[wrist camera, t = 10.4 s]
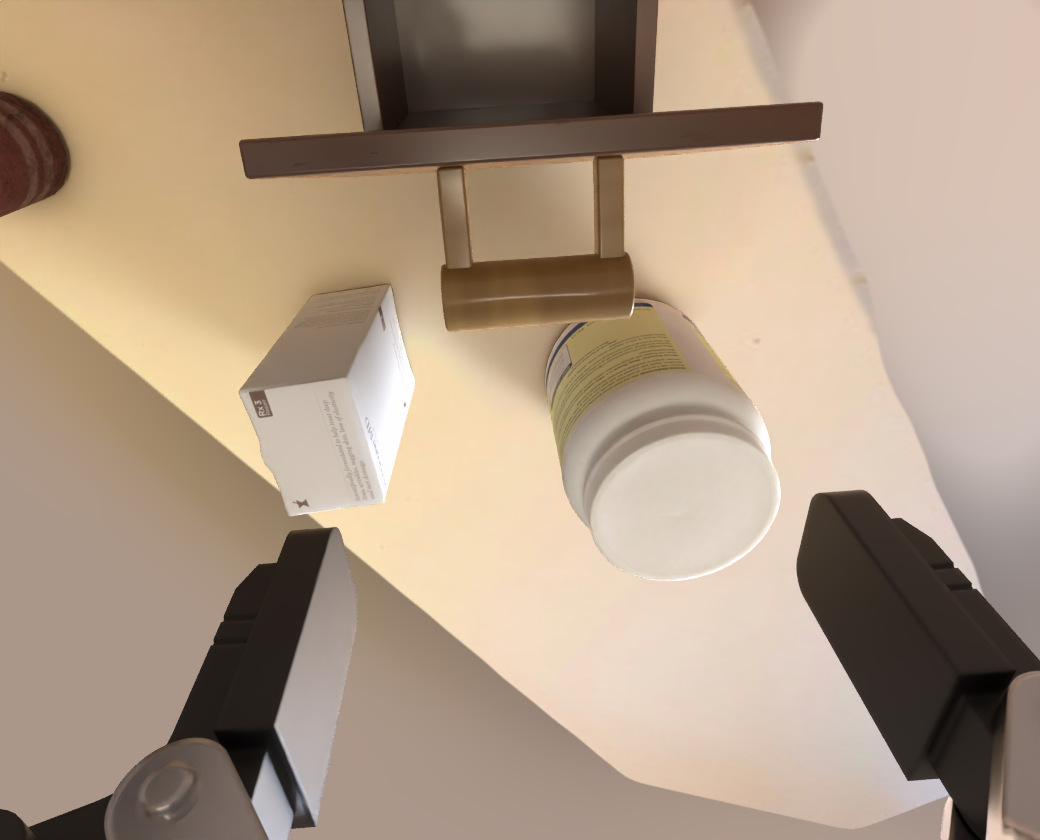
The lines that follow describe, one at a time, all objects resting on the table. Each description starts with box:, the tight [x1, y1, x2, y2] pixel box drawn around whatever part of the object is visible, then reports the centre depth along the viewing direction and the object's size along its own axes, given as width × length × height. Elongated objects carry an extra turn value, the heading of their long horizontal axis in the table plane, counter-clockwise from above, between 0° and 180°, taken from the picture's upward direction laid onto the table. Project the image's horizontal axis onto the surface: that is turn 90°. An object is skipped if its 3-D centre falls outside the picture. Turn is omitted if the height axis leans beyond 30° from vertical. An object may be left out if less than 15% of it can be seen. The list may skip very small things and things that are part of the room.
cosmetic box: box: [239, 284, 415, 516], centre depth 40 cm, size 8×6×15 cm
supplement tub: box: [545, 298, 781, 581], centre depth 41 cm, size 12×12×17 cm
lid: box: [239, 102, 823, 332], centre depth 22 cm, size 16×13×5 cm
